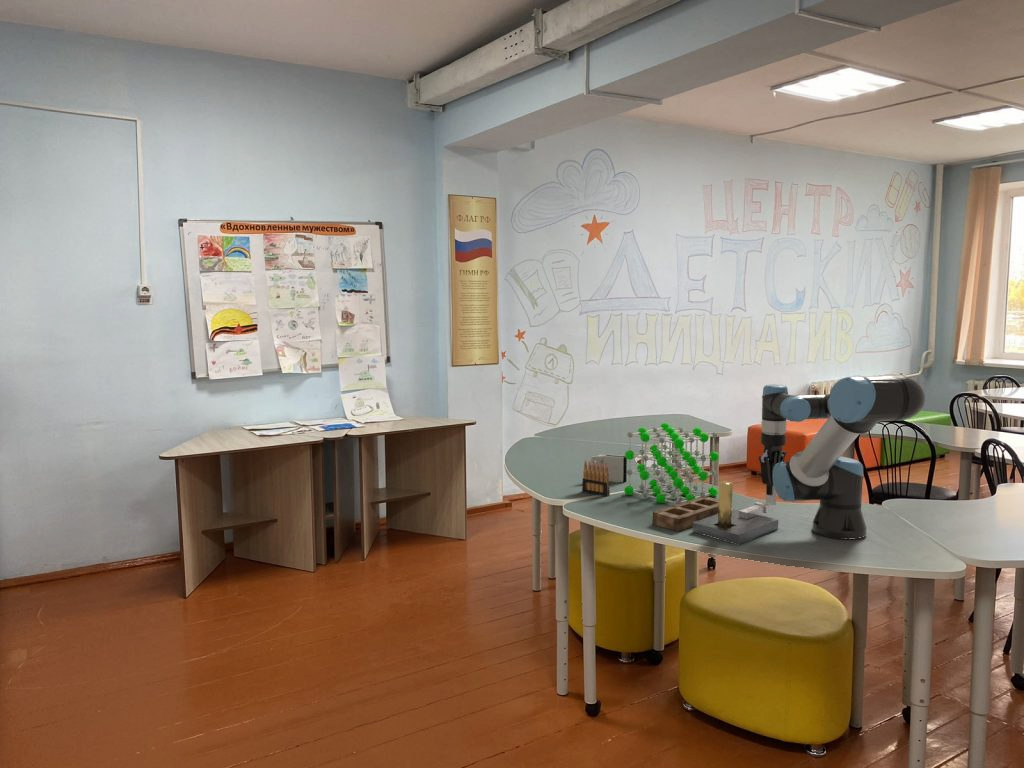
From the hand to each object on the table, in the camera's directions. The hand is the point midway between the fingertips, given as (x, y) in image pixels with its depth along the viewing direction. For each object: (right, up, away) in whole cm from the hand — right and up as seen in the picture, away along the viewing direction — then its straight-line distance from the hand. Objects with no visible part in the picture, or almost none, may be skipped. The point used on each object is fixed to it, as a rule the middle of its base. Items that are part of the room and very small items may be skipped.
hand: (770, 504), depth 245 cm
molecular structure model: (-27, -2, +27) cm, 38 cm away
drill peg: (-20, -7, -17) cm, 27 cm away
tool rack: (-26, -5, -1) cm, 26 cm away
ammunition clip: (-54, -1, +30) cm, 62 cm away
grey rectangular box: (-47, +1, +48) cm, 67 cm away
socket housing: (-15, -6, -13) cm, 21 cm away
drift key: (-8, -2, -7) cm, 11 cm away
